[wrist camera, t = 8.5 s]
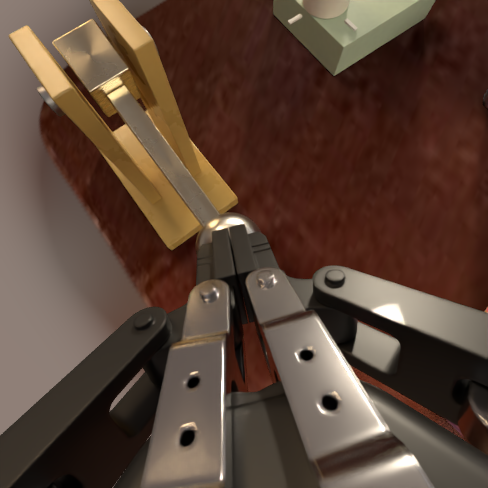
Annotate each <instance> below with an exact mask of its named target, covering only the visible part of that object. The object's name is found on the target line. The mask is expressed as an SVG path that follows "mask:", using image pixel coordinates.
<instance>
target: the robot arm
mask: <svg viewBox="0 0 488 488" xmlns="http://www.w3.org/2000/svg"><path fill="white" fill-rule="evenodd" d="M229 231H230V235H229ZM229 231H228V228H223V229H219V230H215V231H211V233H212V242H211V243H207V244H202V246H201V247H200V249H199V250H198V252H197V277H196V286H195V287H194V288H193V289H192V291H191V292H190V294H189V298H188V303H186V304H185V305H184V306H182V307H180V308H178V309H176V310H174V311H172V312H170V313H168V314H167V313H166V312H165V310H164V309H162V308H160V307H149V308H145V309H143V310H140V311H139V312H137V313H135V314H134V315H133V316H131V317H130V318H129V319H128V320H127V321H126V322H125V323H124V324H122V325H121V326H120V327H119V328H118V329H117V330H116V331H115V332H114V333H113V334H111V335H110V336H109V337H108V338H107V339H106V340H105V341H104V342H103V343H102V344H100V345H99V346H98V347H97V348H96V349H95V350H94V351H93V352H92V353H91V354H89V355H88V356H87V357H86V358H85V359H84V360H83V361H82V362H81V363H80V364H79V365H78V366H76V367H75V368H74V369H73V370H72V371H71V372H70V373H69V374H67V375H66V376H65V377H64V378H63V379H62V380H61V381H60V382H59V383H58V384H56V386H54V387H53V388H52V389H51V390H50V391H49V392H48V393H47V394H45V395H44V396H43V397H42V398H41V399H40V400H39V401H38V402H37V403H36V404H34V405H33V406H32V407H31V408H30V409H29V410H28V411H27V412H26V413H25V414H24V415H22V416H21V417H20V418H19V419H18V420H17V421H16V422H15V423H14V424H13V425H11V426H10V427H9V428H8V429H7V430H6V431H5V432H4V433H3V434H2V435H0V488H112V487H113V486H114V485H115V486H114V487H113V488H488V313H486V312H483V311H480V310H477V309H474V308H471V307H468V306H464V305H461V304H458V303H455V302H452V301H449V300H446V299H443V298H440V297H437V296H433V295H430V294H427V293H424V292H421V291H418V290H415V289H412V288H409V287H406V286H402V285H399V284H396V283H393V282H390V281H387V280H384V279H381V278H378V277H375V276H372V275H368V274H365V273H362V272H359V271H356V270H353V269H350V268H347V267H343V266H326V267H323V268H321V269H319V270H317V271H316V272H315V273H314V275H313V278H312V279H295V278H291V277H288V276H286V274H285V273H284V271H282V270H281V269H279V266H278V264H277V262H276V259H275V257H274V255H273V252H272V250H271V247H270V245H269V243H268V240H267V238H266V236H265V235H263V234H262V233H260V232H259V231H258V232H254V233H250V234H248V233H247V230H246V227H245V224H240V225H236V226H232V227H229ZM230 237H231V239H230ZM231 242H232V244H231ZM232 247H233V248H232ZM242 294H243V295H242ZM243 298H244V300H243ZM244 302H245V305H244ZM245 306H246V310H247V314H248V318H249V322H255V326H256V330H257V334H258V338H259V342H260V345H261V348H262V351H263V354H264V357H265V361H266V364H267V367H268V370H269V373H270V376H271V379H272V382H273V384H272V385H270V386H268V387H266V388H264V389H262V390H261V391H258V392H248V383H247V369H246V355H245V343H244V338H243V336H244V332H243V326H242V324H246V323H248V321H247V315H246V310H245ZM358 320H360V321H362V322H364V323H367V324H369V325H371V326H373V327H376V328H378V329H380V330H382V331H385V332H387V333H389V334H391V335H392V336H394V337H395V338H394V337H391V336H389V335H387V334H385V333H382V332H380V331H378V330H376V329H373V328H371V327H369V326H367V325H365V324H362V323H360V322H358ZM349 364H350V365H351V366H353V367H355V368H357V369H358V370H360V371H362V372H364V373H365V374H367V375H369V376H371V377H372V378H374V379H376V380H378V381H380V382H381V383H383V384H385V385H387V386H388V387H390V388H392V389H394V390H395V391H397V392H399V393H401V394H402V395H404V396H406V397H408V398H409V399H411V400H413V401H415V402H416V403H418V404H420V405H422V406H423V407H425V408H427V409H429V410H431V411H432V412H434V413H436V414H438V415H439V416H441V417H443V418H445V419H446V420H448V421H450V422H452V423H453V424H455V425H457V426H459V429H460V431H461V433H462V435H463V437H464V438H465V440H466V441H467V442H466V441H464V440H463V439H461V438H459V437H458V436H456V435H454V434H453V433H451V432H450V431H448V430H446V429H445V428H443V427H442V426H440V425H438V424H437V423H435V422H434V421H432V420H430V419H429V418H427V417H425V416H424V415H422V414H421V413H419V412H417V411H416V410H414V409H413V408H411V407H409V406H408V405H406V404H404V403H403V402H401V401H400V400H398V399H396V398H395V397H393V396H392V395H390V394H388V393H387V392H385V391H383V390H382V389H380V388H378V387H376V386H374V385H371V384H369V383H366V382H364V381H361V380H358V378H357V376H356V375H355V373H354V372H353V370H352V368H351V367H350V365H349ZM142 368H143V369H144V370H145V373H144V374H143V375H142V376H141V377H140V378H139V380H138V381H137V382H136V383H135V384H134V385H133V387H132V388H131V389H130V390H129V391H128V392H127V393H126V395H125V396H124V397H123V398H122V399H121V400H120V401H119V403H118V404H117V405H116V406H115V407H114V408H113V409H112V410H111V411H110V406H111V404H112V402H113V401H114V399H115V398H116V397H117V395H118V394H119V393H120V392H121V391H122V390H123V389H124V388H125V387H126V385H127V384H128V383H129V382H130V381H131V380H132V379H133V377H134V376H135V375H136V374H137V373H138V372H139V371H140V369H142ZM109 411H110V412H109ZM151 433H152V434H151ZM150 435H151V436H150ZM149 436H150V437H149ZM148 438H149V439H148ZM147 439H148V440H147ZM146 440H147V441H146ZM125 469H126V470H125ZM123 472H124V473H123ZM120 476H121V477H120ZM118 479H119V480H118ZM117 480H118V481H117ZM116 482H117V483H116ZM115 483H116V484H115Z"/></svg>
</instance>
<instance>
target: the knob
mask: <svg viewBox="0 0 488 488" xmlns="http://www.w3.org/2000/svg"><path fill="white" fill-rule="evenodd" d="M302 1H303V6H304V8H305V10H306V11H307V12H308V13H309V14H311V15H313V16H315V17H317V18H322V19H330V18H335V17H338V16H340V15H341V14H343V13H344V12H345V10H346V9H347V7H348V5H349V2H350V0H302Z"/></svg>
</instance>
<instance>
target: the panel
mask: <svg viewBox="0 0 488 488" xmlns="http://www.w3.org/2000/svg"><path fill="white" fill-rule="evenodd" d="M434 2H435V0H350V2H349V5H348V7H347V9H346V10H345V12H344V13H343V14H341V15H340V16H338V17H335V18H330V19H322V18H317V17H315V16H313V15H311V14H309V13H308V12H307V11H306V10H305V8H304V6H303V1H302V0H274V5H273V14H274V15H275V16H276V17H277V18H278V19H279V20H280V21H281V23H282V24H283V25H284V26H285V27H286V28H287V29H288V30H289V31H290V32H291V33H292V34H293V35H294V36H295V37H296V38H297V39H298V40H299V41H300V42H301V43H302V44H303V45H304V46H305V47H306V48H307V49H308V50H309V51H310V52H311V53H312V54H313V55H314V56H315V57H316V58H317V59H318V60H319V61H320V62H321V63H322V64H323V65H324V66H325V67H326V69H327V70H328V71H329V72H330V73H331V74H332V75H333V76H335V75H336V74H338V73H340V72H341V71H343V70H344V69H346V68H347V67H349V66H351V65H352V64H354V63H355V62H357V61H358V60H360V59H362V58H363V57H365V56H366V55H368V54H369V53H371V52H373V51H374V50H376V49H377V48H379V47H380V46H382V45H384V44H385V43H387V42H388V41H390V40H391V39H393V38H395V37H396V36H398V35H399V34H401V33H403V32H404V31H406V30H407V29H409V28H410V27H412V26H414V25H415V24H417V23H418V22H420V21H421V20H423V19H425V17H426V15H427V14H428V12H429V10H430V9H431V7H432V5H433V4H434Z"/></svg>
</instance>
